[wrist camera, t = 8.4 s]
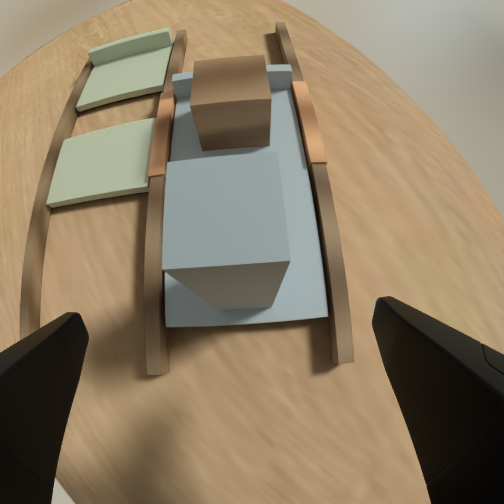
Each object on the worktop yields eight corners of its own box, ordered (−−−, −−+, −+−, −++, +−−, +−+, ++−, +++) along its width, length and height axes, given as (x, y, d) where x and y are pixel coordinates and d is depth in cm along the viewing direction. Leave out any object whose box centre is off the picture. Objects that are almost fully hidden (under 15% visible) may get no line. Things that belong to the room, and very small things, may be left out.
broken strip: (151, 191, 21) (137, 170, 18) (51, 207, 21) (31, 193, 18) (174, 46, 27) (169, 27, 24) (98, 65, 27) (90, 49, 24)
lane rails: (348, 360, 17) (356, 361, 16) (33, 359, 18) (19, 358, 16) (284, 32, 28) (285, 21, 26) (95, 62, 28) (90, 52, 26)
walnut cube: (269, 146, 21) (271, 98, 16) (202, 151, 21) (189, 105, 16) (263, 101, 22) (263, 55, 17) (204, 105, 22) (194, 61, 17)
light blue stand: (325, 317, 18) (417, 283, 7) (169, 327, 18) (56, 305, 7) (288, 88, 24) (297, -21, 13) (179, 97, 24) (149, -8, 13)
